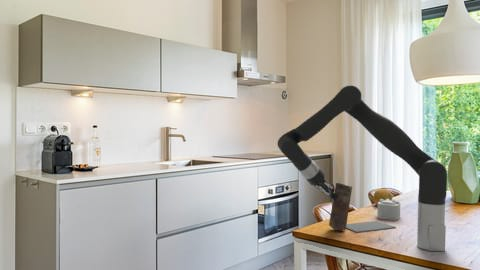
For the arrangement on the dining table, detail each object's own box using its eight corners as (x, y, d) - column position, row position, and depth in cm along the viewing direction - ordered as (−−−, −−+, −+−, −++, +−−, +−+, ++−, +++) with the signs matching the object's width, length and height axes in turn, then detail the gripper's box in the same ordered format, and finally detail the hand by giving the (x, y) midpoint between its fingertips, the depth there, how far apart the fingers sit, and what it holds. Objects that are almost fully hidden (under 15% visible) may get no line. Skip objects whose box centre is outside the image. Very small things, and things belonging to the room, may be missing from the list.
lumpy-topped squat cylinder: (375, 217, 192) (376, 200, 192) (381, 213, 203) (381, 196, 203) (397, 220, 187) (398, 203, 186) (402, 215, 198) (402, 198, 197)
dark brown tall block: (324, 225, 170) (333, 181, 171) (338, 227, 172) (346, 184, 173) (334, 230, 163) (343, 184, 164) (348, 232, 165) (357, 186, 166)
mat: (356, 232, 164) (356, 231, 164) (339, 225, 175) (339, 224, 175) (395, 228, 173) (395, 226, 173) (376, 221, 184) (376, 220, 184)
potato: (371, 206, 219) (371, 189, 219) (374, 202, 230) (375, 186, 230) (390, 208, 214) (390, 190, 214) (393, 204, 225) (393, 187, 225)
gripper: (325, 167, 156) (349, 194, 161) (308, 164, 168) (330, 189, 174) (314, 180, 154) (339, 208, 159) (297, 176, 167) (321, 202, 172)
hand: (334, 198), depth 166 cm, fingers closed
